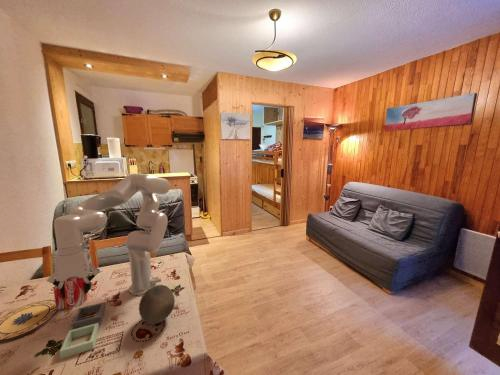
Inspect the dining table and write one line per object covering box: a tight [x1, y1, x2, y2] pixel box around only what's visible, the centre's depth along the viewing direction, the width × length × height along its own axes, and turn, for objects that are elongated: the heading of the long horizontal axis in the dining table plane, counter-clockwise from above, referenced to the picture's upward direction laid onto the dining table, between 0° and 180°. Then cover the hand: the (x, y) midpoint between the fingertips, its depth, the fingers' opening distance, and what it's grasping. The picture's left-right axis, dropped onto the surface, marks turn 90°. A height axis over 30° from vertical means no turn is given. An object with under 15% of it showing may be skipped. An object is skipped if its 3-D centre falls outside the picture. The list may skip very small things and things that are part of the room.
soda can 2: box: [64, 277, 88, 309], centre depth 79 cm, size 6×6×12 cm
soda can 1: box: [53, 285, 69, 310], centre depth 98 cm, size 7×7×12 cm
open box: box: [59, 302, 106, 360], centre depth 86 cm, size 10×22×3 cm, turn 25°
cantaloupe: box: [138, 284, 176, 325], centre depth 90 cm, size 14×14×15 cm
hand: (76, 293), depth 80 cm, fingers closed on soda can 2, 6 cm apart
